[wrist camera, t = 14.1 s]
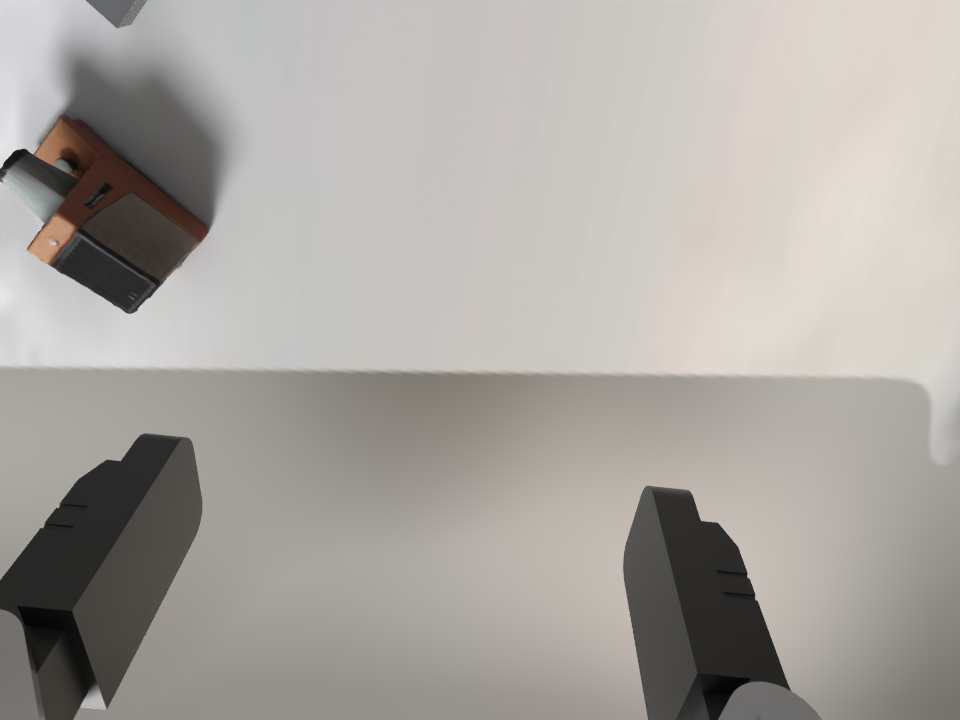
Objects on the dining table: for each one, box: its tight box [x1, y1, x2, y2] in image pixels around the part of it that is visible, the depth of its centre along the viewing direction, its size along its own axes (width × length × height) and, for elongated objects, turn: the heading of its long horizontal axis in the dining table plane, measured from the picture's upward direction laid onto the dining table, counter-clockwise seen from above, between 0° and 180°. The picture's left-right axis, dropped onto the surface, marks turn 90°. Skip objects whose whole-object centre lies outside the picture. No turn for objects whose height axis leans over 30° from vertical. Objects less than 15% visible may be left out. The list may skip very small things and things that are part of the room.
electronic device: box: [0, 114, 209, 314], centre depth 38 cm, size 4×10×8 cm, turn 43°
